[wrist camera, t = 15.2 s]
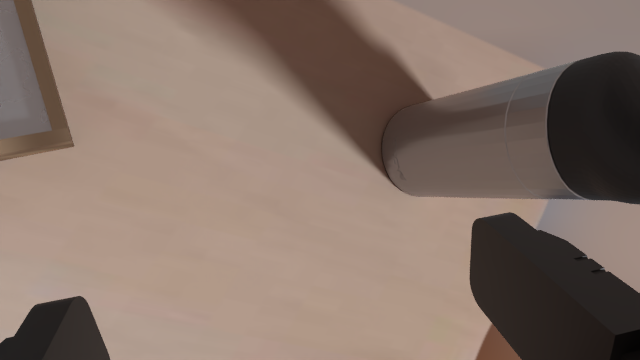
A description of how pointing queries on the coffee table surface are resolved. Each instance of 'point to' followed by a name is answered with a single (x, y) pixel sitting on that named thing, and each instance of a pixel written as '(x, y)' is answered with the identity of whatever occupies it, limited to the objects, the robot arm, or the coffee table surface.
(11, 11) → the grey metal bore plate
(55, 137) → the walnut crate
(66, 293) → the coffee table surface
